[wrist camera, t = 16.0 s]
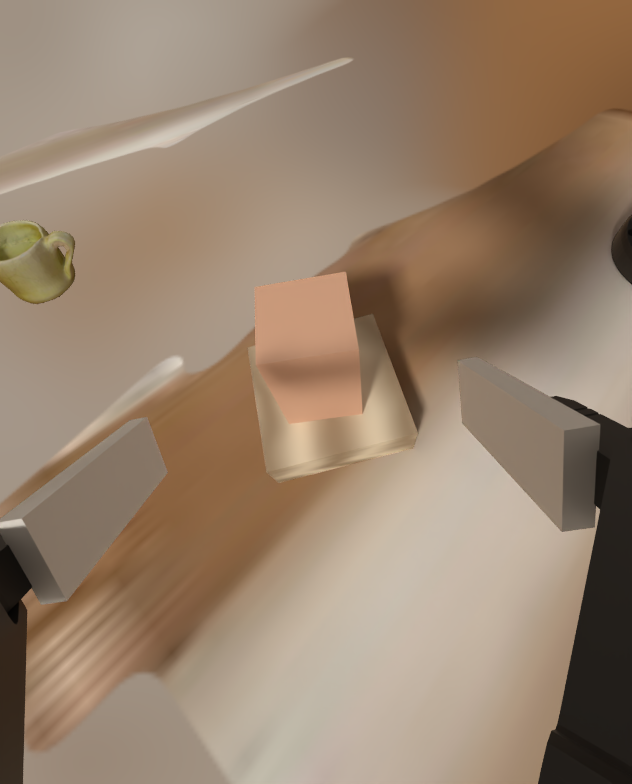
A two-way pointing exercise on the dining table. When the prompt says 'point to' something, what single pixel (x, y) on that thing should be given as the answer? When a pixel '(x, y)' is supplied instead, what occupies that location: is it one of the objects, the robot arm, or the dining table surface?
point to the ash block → (338, 418)
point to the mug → (35, 261)
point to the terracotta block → (309, 347)
